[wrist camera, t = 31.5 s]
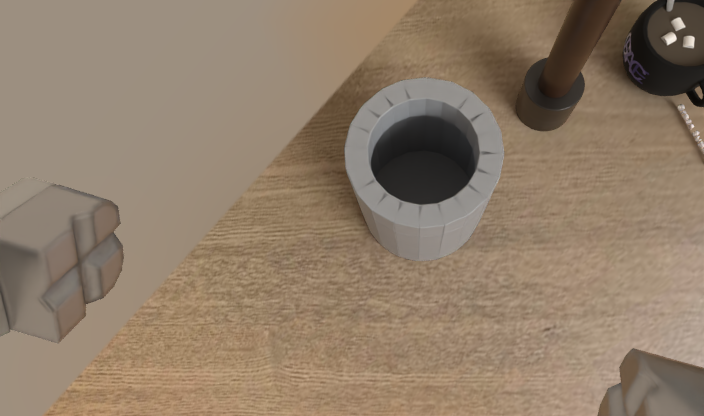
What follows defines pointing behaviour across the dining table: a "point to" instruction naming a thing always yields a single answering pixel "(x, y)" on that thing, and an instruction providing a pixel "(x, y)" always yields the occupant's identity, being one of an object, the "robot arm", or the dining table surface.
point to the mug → (668, 51)
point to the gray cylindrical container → (423, 165)
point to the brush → (563, 67)
